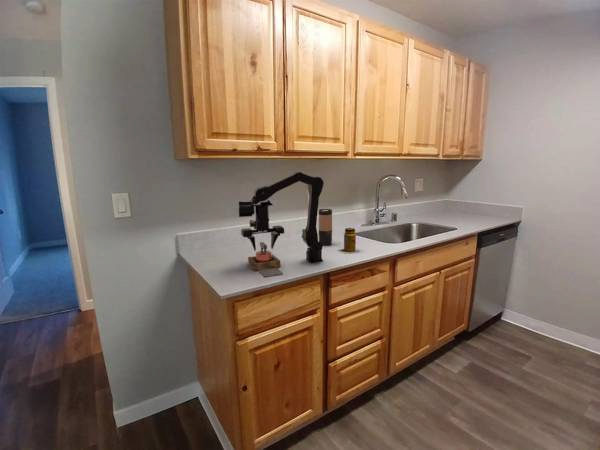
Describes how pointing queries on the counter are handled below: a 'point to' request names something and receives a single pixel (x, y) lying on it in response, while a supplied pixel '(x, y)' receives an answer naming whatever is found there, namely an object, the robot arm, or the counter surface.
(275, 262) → the holder
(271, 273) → the mat
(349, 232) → the condiment
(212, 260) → the counter surface
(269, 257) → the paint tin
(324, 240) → the travel mug
